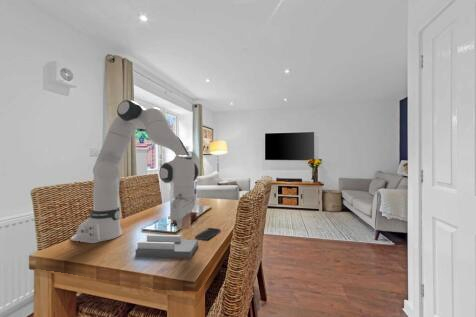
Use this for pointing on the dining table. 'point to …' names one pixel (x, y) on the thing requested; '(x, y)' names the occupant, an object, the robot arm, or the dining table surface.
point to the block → (185, 222)
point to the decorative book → (192, 214)
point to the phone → (207, 234)
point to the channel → (166, 246)
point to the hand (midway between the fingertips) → (183, 224)
